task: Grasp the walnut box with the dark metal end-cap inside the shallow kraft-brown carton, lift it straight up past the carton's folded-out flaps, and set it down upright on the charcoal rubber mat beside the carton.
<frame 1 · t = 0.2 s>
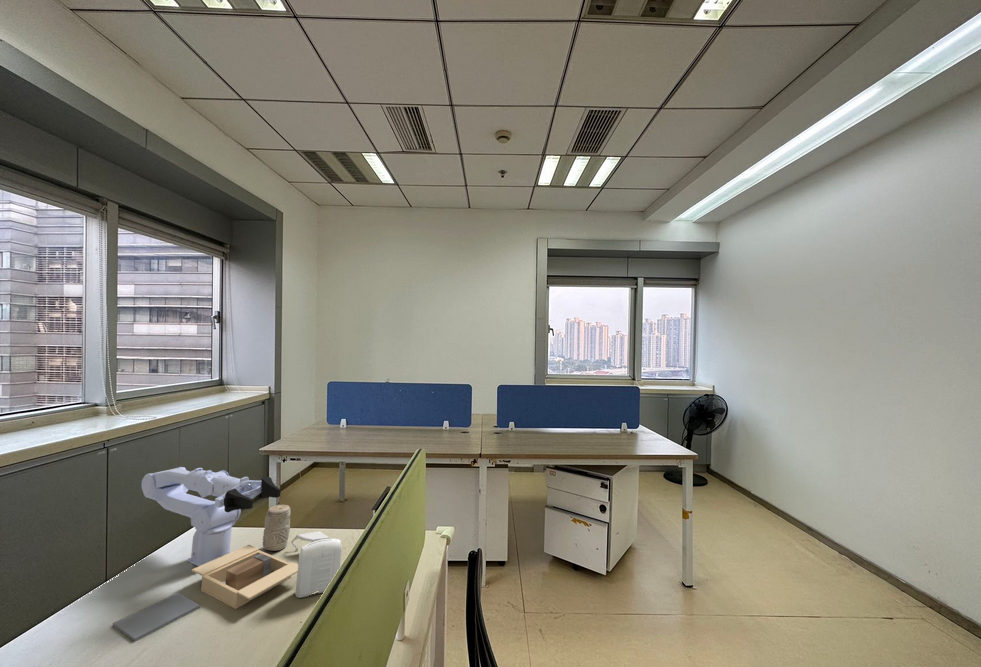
hand: (265, 498, 101), 21 cm above the table, tool horizontal, fingers open, 7 cm apart
walnut box: (243, 586, 98), resting in carton
carving: (275, 548, 117), on the table
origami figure: (310, 552, 116), on the table
carton: (247, 583, 99), on the table
mat: (157, 616, 86), on the table
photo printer: (317, 590, 98), on the table
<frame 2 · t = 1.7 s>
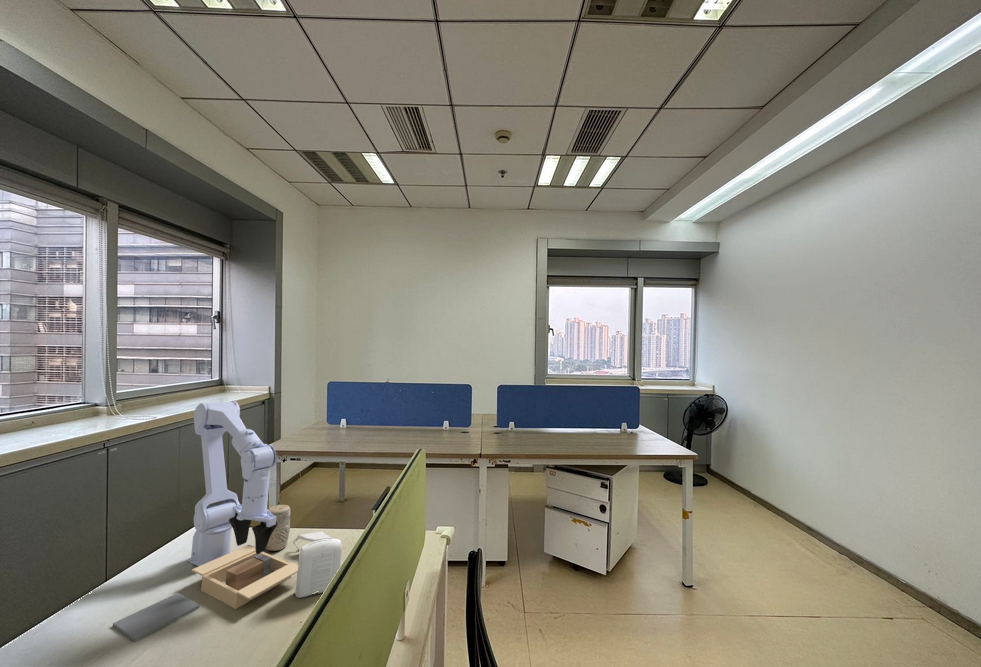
hand: (251, 547, 99), 9 cm above the table, tool pointing down, fingers open, 7 cm apart
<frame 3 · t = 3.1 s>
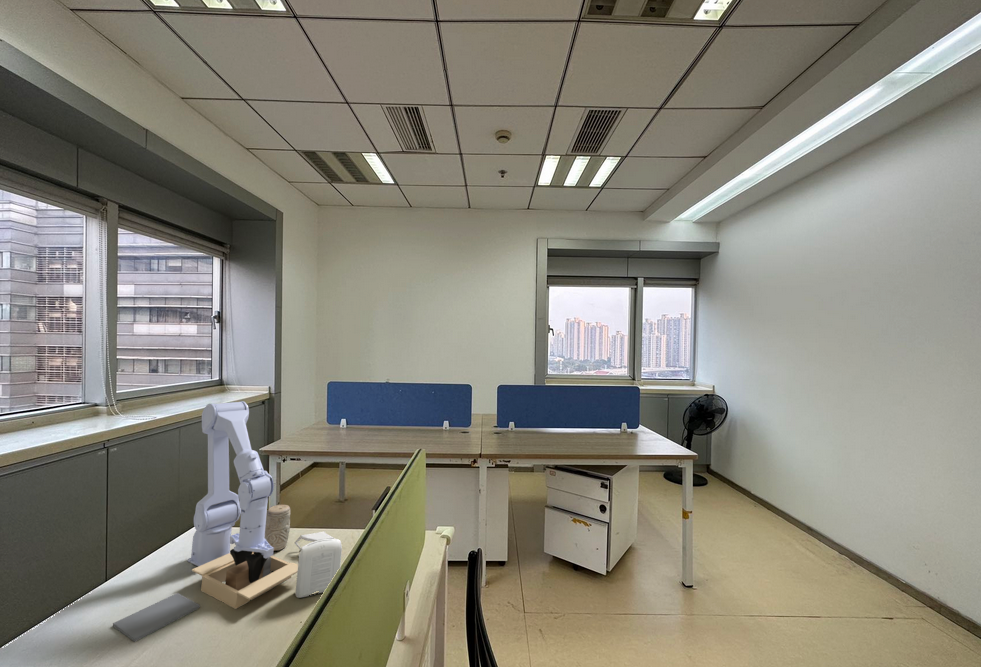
hand: (248, 578, 99), 1 cm above the table, tool pointing down, fingers closed on walnut box, 4 cm apart
walnut box: (243, 585, 98), resting in carton, touching gripper
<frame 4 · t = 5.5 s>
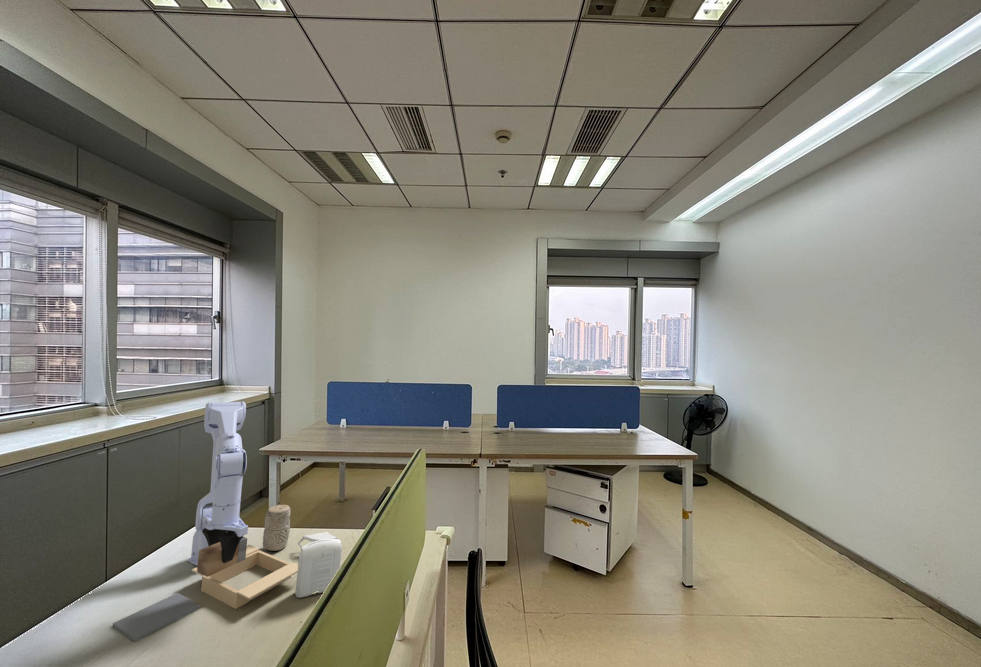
hand: (221, 558, 95), 9 cm above the table, tool pointing down, fingers closed on walnut box, 4 cm apart
walnut box: (217, 567, 94), point 7 cm above the table, touching gripper
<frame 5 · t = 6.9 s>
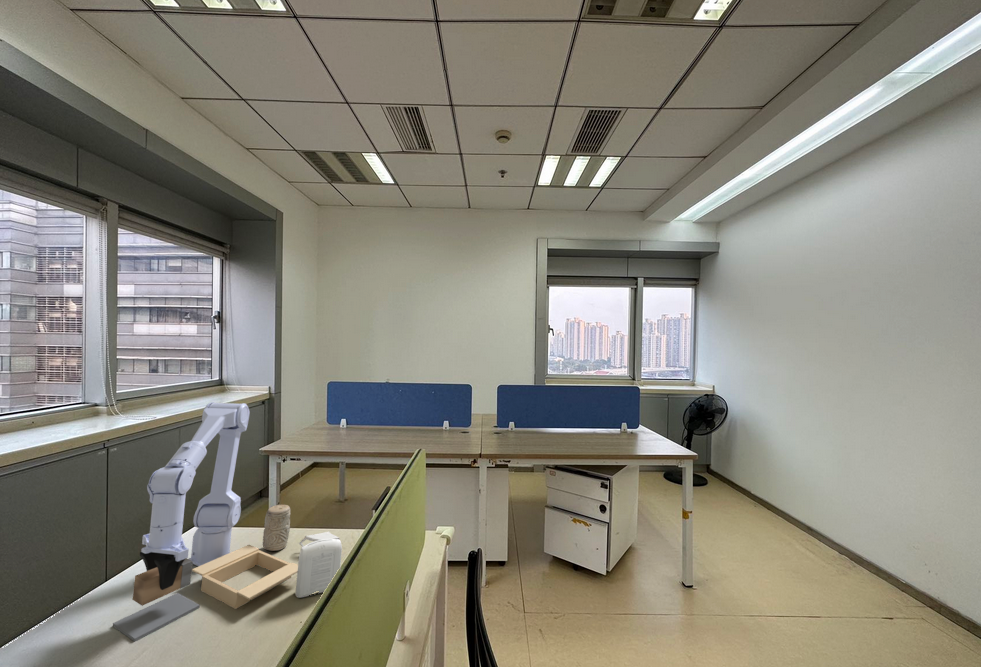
hand: (161, 584, 86), 7 cm above the table, tool pointing down, fingers closed on walnut box, 4 cm apart
walnut box: (156, 593, 85), point 5 cm above the table, touching gripper
when the fingers open (4 cm above the table, at t = 8.0 s): walnut box drops 1 cm, resting on mat.
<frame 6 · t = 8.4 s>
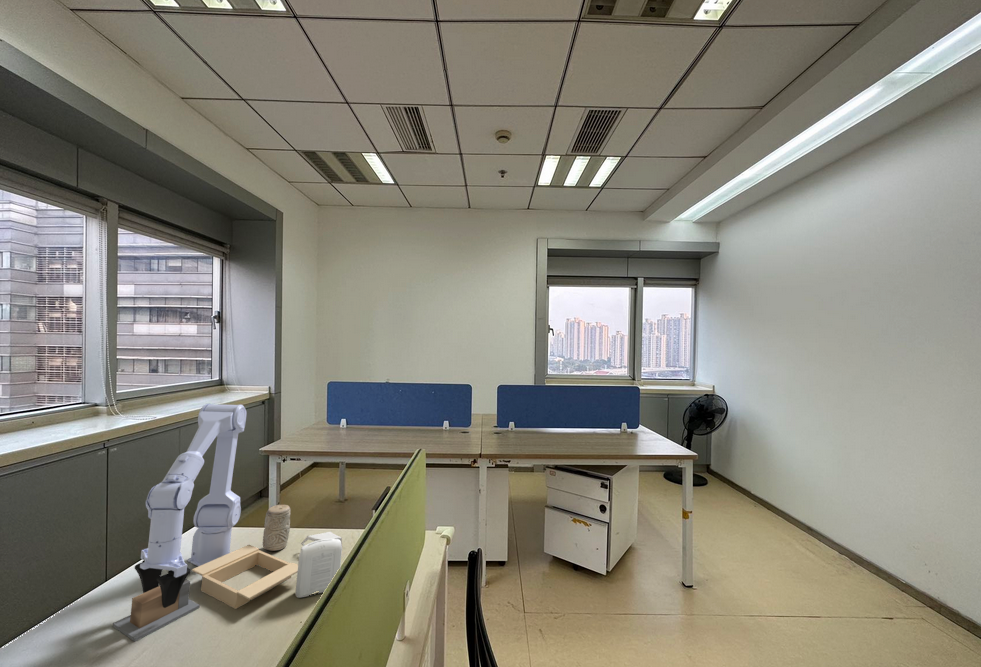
hand: (159, 599, 86), 4 cm above the table, tool pointing down, fingers open, 7 cm apart
walnut box: (154, 615, 85), point 1 cm above the table, touching mat
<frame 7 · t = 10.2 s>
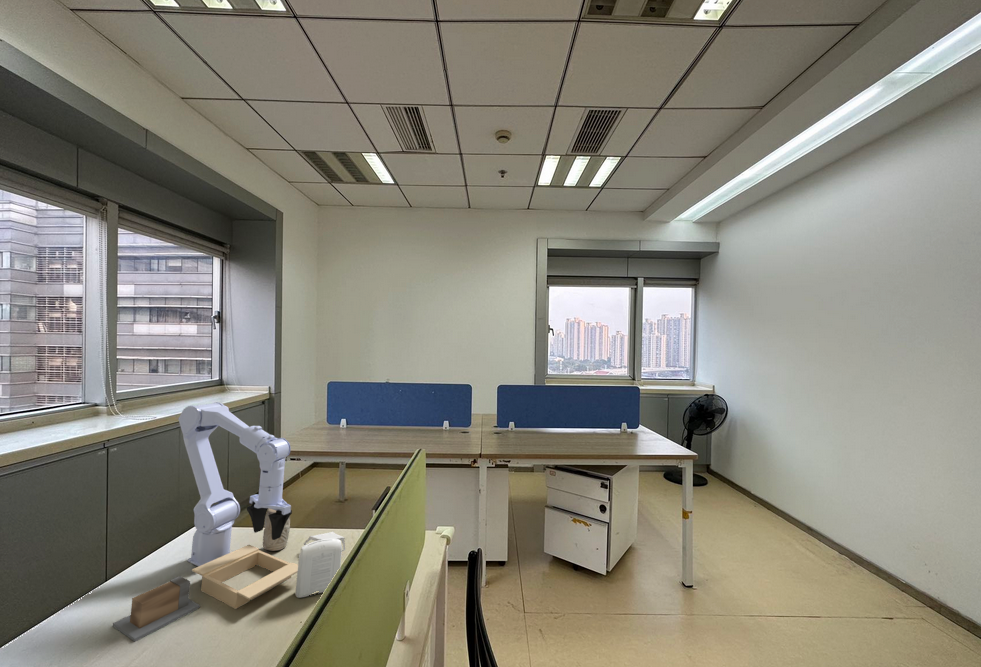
hand: (267, 534, 106), 9 cm above the table, tool pointing down, fingers open, 7 cm apart
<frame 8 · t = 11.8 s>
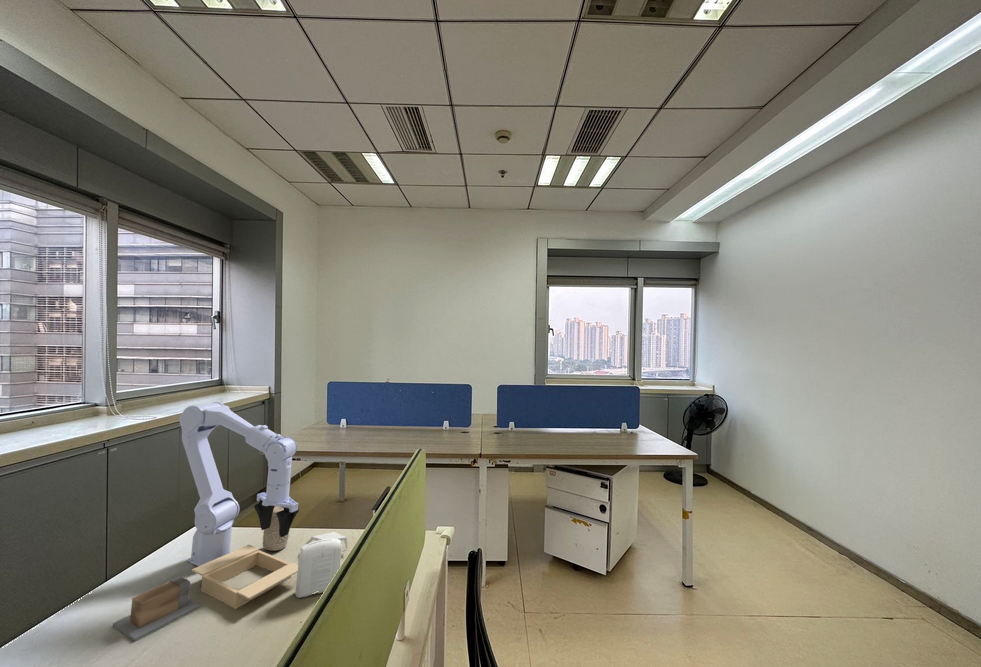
hand: (274, 532, 108), 9 cm above the table, tool pointing down, fingers open, 7 cm apart
at the end: walnut box inside the target area on the mat (0.2 cm from its centre), point 0.6 cm above the mat's base; walnut box tilted 0°; the gripper is holding nothing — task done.
